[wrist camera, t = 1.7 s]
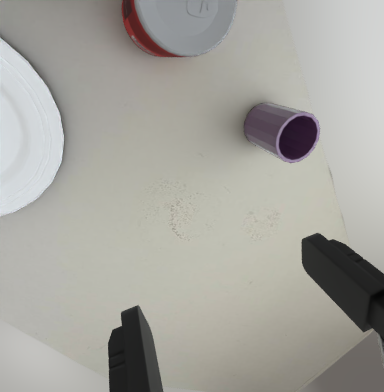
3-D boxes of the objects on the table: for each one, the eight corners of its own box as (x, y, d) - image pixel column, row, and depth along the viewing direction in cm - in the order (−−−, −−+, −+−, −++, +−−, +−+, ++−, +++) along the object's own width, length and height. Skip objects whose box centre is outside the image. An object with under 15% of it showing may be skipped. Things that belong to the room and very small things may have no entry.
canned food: (195, 54, 32) (237, 53, 23) (127, 59, 30) (142, 60, 21) (192, -28, 28) (239, -70, 19) (114, -29, 26) (124, -76, 17)
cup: (235, 128, 38) (266, 144, 31) (264, 93, 37) (302, 101, 30) (261, 152, 41) (294, 171, 34) (288, 120, 40) (328, 133, 33)
